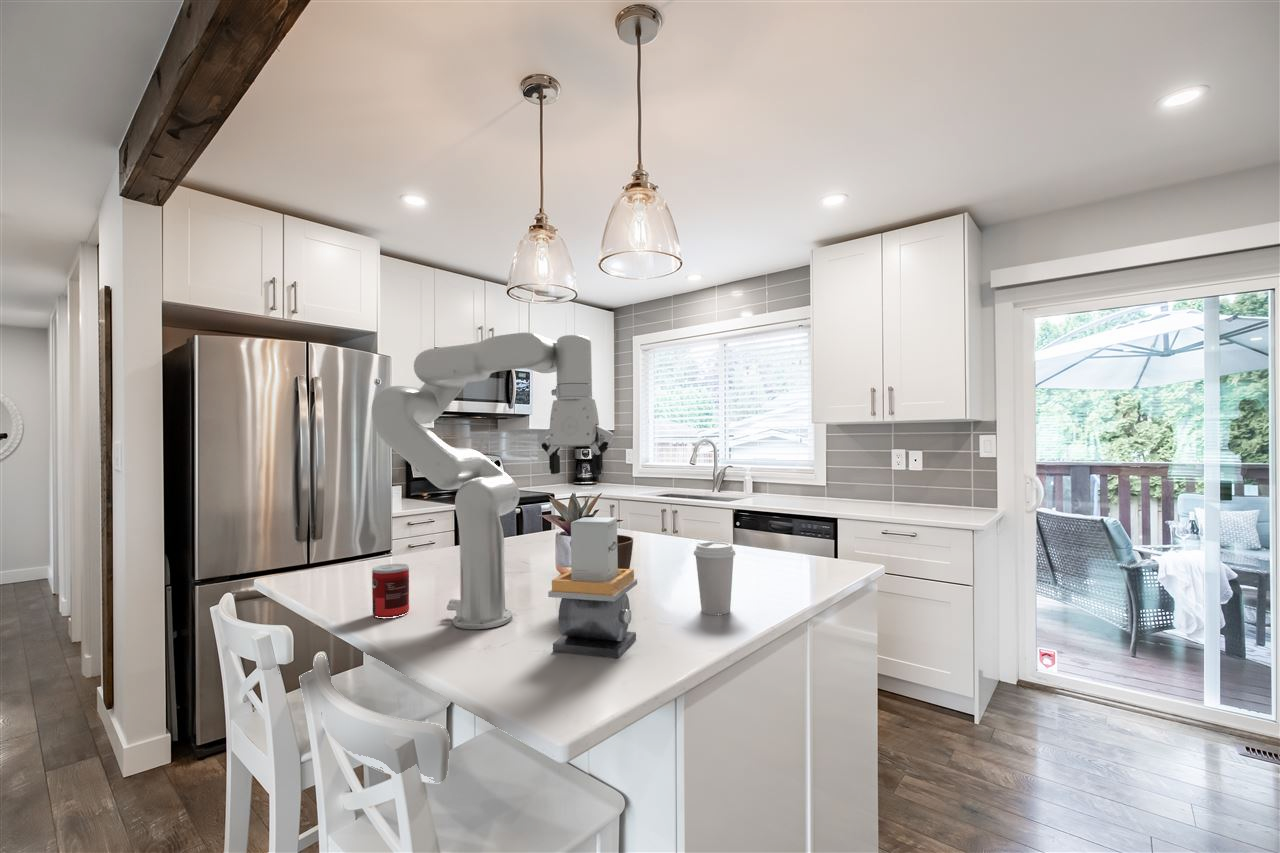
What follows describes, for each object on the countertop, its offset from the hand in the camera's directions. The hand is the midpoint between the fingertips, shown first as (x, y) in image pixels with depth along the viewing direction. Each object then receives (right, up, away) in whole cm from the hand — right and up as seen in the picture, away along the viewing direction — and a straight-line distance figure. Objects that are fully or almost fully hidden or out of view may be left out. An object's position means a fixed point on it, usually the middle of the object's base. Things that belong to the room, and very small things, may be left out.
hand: (575, 473), depth 124 cm
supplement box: (+5, -21, -13) cm, 25 cm away
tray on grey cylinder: (+5, -32, -13) cm, 35 cm away
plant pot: (+5, -33, +12) cm, 35 cm away
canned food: (-44, -34, +10) cm, 56 cm away
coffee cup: (+31, -32, +8) cm, 45 cm away
